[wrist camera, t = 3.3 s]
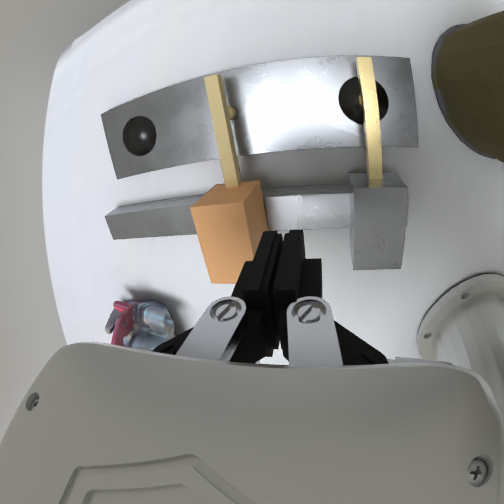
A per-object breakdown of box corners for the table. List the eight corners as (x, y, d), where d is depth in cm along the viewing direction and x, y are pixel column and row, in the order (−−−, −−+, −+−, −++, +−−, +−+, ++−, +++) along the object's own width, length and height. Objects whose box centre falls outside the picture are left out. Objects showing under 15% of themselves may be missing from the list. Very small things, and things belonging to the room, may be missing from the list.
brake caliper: (87, 285, 27) (84, 369, 18) (176, 266, 31) (204, 342, 22) (115, 348, 33) (126, 422, 24) (188, 331, 37) (215, 401, 28)
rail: (400, 183, 17) (408, 192, 15) (399, 214, 18) (406, 226, 16) (117, 207, 24) (104, 216, 22) (125, 229, 25) (113, 239, 23)
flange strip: (405, 60, 12) (410, 57, 11) (413, 144, 15) (419, 147, 14) (108, 112, 19) (99, 114, 18) (124, 175, 22) (116, 179, 21)
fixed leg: (382, 62, 12) (398, 53, 9) (389, 239, 18) (400, 268, 15) (334, 62, 13) (338, 51, 10) (349, 240, 18) (353, 270, 15)
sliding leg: (244, 72, 14) (216, 63, 10) (273, 243, 20) (258, 283, 16) (200, 83, 15) (161, 81, 11) (234, 244, 21) (211, 283, 17)
